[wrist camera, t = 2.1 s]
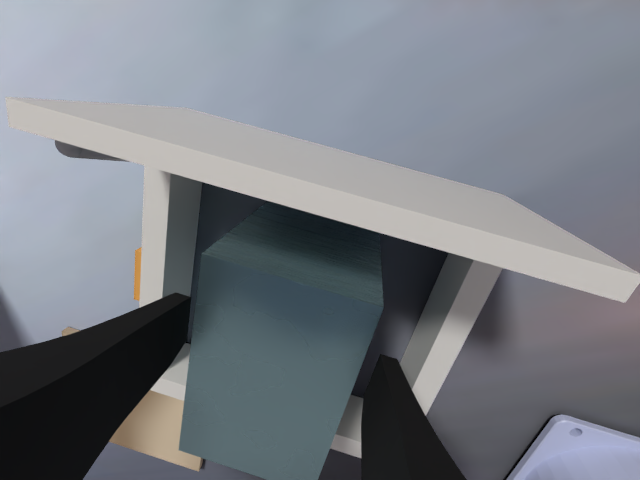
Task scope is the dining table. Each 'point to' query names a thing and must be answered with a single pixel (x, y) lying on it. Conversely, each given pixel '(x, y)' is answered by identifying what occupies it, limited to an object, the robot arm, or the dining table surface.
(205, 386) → the block
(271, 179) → the case lid
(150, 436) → the oak pad
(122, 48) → the dining table surface
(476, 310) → the case
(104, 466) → the dining table surface
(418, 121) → the dining table surface
